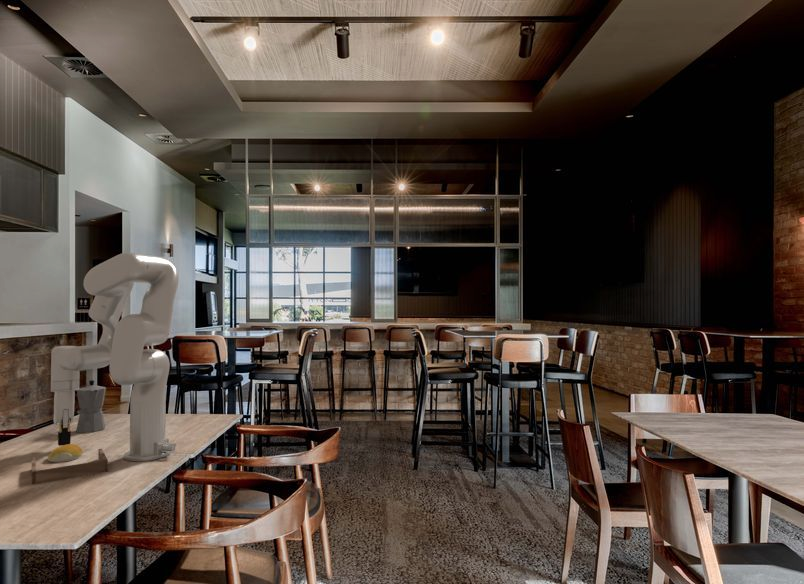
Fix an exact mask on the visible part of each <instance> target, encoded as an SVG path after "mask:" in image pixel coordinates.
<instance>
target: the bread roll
mask: <svg viewBox="0 0 804 584" xmlns="http://www.w3.org/2000/svg"><path fill="white" fill-rule="evenodd" d="M83 452H84V451H83V449H82V448H81V446H79V445H78V444H75V443H70V444H66V445H62V446H58V447H56V448H55V449H53V450H52V451H51V452H50V453H49V454H48V456H47V461H49V462H50V463H51V462H52V463H64V462H70V461H71V462H72V461H74V460H77V459H79V458H80V457H81V455H82V454H83Z"/></svg>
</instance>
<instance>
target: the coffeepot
mask: <svg viewBox="0 0 804 584" xmlns="http://www.w3.org/2000/svg"><path fill="white" fill-rule="evenodd" d="M88 383H89V384H86V385H85V386H84V387H79V390H76V394H77V401H78V406H79V407H78V408H80V413H79V415H78V419H77V426H76V432H77V433H80V434H87V433H88V434H89V433H95V432H101V431H104V430H105V429H106V424H105V417H104V411H103V406H104V402H105V397H106V396H105V395H106V391H107V386H106V387H105V386H100V385H95V380H93V379H91V380H89V381H88Z"/></svg>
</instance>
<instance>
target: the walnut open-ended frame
mask: <svg viewBox="0 0 804 584" xmlns="http://www.w3.org/2000/svg"><path fill="white" fill-rule="evenodd" d="M97 456H98V459H97V461H90V462H83V463H78V464H72V465H62V466H58V467H51V468H45V469H44V468H43V469H38V470H37V466H36V457H34V458H33V457H32V458H31V485H35V484H42V483H46V482H53V481H59V480H66V479H72V478H77V477H78V478H79V477H83V476H89V475H95V474H100V473H101V474H102V473H108V470H109V460H108V458H107V456H106V454H105V452H104V450H103V448H98V454H97Z"/></svg>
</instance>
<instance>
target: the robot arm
mask: <svg viewBox="0 0 804 584" xmlns="http://www.w3.org/2000/svg"><path fill="white" fill-rule="evenodd" d="M176 268H177V267H175V266H174V264H173V263H172V262H171V261H169V260H168V259H166V258H164V257H160V256H157V255H152V254H142V253H136V252H123V253H120V254H117V255H115V256H113V257H111V258H109V259H107V260H105V261H103V262H101V263H99V264H97V265H95V266H94V267H92V268H91V269H90V270H89V271H88V272H87V273H86V275H85V276H84V278H83V288H84V290H85V291H86V293H87V294H89V295H91V296H94V299H93V301H92V303H91V306H90V308H89V310H88V316H89V318H91V319H92V320H93V321H95V322H97V323H98V324H100V325H101V326H102V334H101V336H100V339H99V341H98V343H97V344H90V345H89V344H88V345H87V344H86V345H81V346H78V345H77V346H76V345H61V346H60V345H59V346H55V347H52V350H51V354H50V355H51V356H50V357H51V359H50V360H51V362H50V365H51V366H50V392H52V393H54V396H53V397H54V399H53V423H54V425H58V431H57V432H58V433H57V444H58V447H60V446H63V445H66V444H71V440H72V439H71V433H72V432H71V423H73V422H74V417H75V405H76V404H75V403H76V402H75V401H76V400H75V399H76V398H75V397H76V393H75V391H77V390H79V388H80V372H81V371H89V370H95V369H102V368H105V367H107V366H109V375H110V377H111V379H112V381H113V382H114V383H116V384H117V385H120V386H131V385H133V387H132V390H131V393H130V399H129V400H130V402H129V403H130V406H129V407H130V408H129V409H130V410H129V413H130V414H129V450H127V451H126V452H124V453H123V459H124V460H125V461H128V462H129V461H130V462H144V461H153V460H158V459H162V458H165V457H167V456H169V455H170V454H171V452H172V453H173V452H175V451H176V447H177V443H175V442H172V443H170V442H169V440H170V438H166V415H167V414H166V408H167V407H166V406H167V405H166V401H167V384H168V383H167V382H168V377H169V372H170V366H171V365H170V363H171V362H170V359H169V357H168V355H167V354H166V353H165V352H164V351H162V350H160V349H157V348H156V349H155V348H146V349H144V347H151V346H157V345H158V346H159V345H161V344H164V343H166V341H168V339H169V335H170V330H171V324H172V319H173V311H174V303H175V298H176V294H177V291H178V285H179V274H178V270H177V269H176ZM135 283H143V284H144V283H145V284H149V285H150V286H149V287H148V288H147V290H146V292H145V294H144V295H143V299H142V303H141V309H140V313H131V314H127V315H125V316H124V317H122V318H121V319H120V317H121V316H122V314H123V311H124V309H125V306H126V304H127V302H128V299H129V297H130V295H131V294H132V291H133V288H134V284H135Z"/></svg>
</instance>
